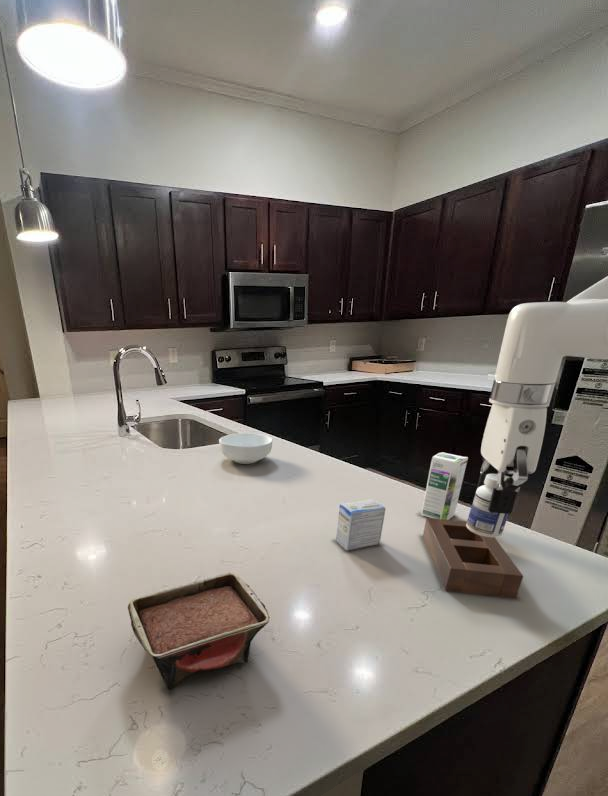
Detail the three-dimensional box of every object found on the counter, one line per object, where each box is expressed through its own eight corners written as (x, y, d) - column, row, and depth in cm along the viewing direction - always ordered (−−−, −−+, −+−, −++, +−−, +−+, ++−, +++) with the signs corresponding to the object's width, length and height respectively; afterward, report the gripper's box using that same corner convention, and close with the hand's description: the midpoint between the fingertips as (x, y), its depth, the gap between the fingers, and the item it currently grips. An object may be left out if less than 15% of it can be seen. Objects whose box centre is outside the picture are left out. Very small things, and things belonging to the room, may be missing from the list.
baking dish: (269, 681, 57) (280, 617, 54) (137, 705, 50) (141, 633, 47) (231, 621, 69) (238, 566, 67) (121, 634, 63) (124, 574, 60)
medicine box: (367, 535, 89) (372, 498, 86) (380, 545, 85) (386, 506, 82) (334, 541, 87) (338, 503, 84) (346, 551, 83) (351, 512, 80)
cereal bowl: (278, 455, 139) (279, 435, 137) (261, 471, 126) (262, 449, 123) (231, 450, 146) (231, 430, 143) (210, 464, 132) (210, 443, 129)
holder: (478, 542, 86) (483, 522, 84) (515, 598, 69) (523, 576, 67) (422, 536, 88) (426, 517, 87) (445, 590, 71) (450, 568, 70)
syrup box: (419, 515, 98) (431, 456, 92) (430, 508, 101) (442, 450, 95) (444, 523, 94) (458, 462, 88) (455, 515, 97) (469, 456, 92)
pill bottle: (485, 522, 74) (501, 471, 70) (509, 537, 69) (528, 483, 65) (458, 524, 73) (473, 472, 69) (480, 539, 68) (498, 484, 64)
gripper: (581, 405, 54) (541, 530, 61) (524, 384, 69) (498, 486, 76) (515, 404, 55) (484, 526, 62) (474, 384, 70) (453, 484, 78)
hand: (492, 503), depth 69 cm, fingers closed on pill bottle, 5 cm apart
